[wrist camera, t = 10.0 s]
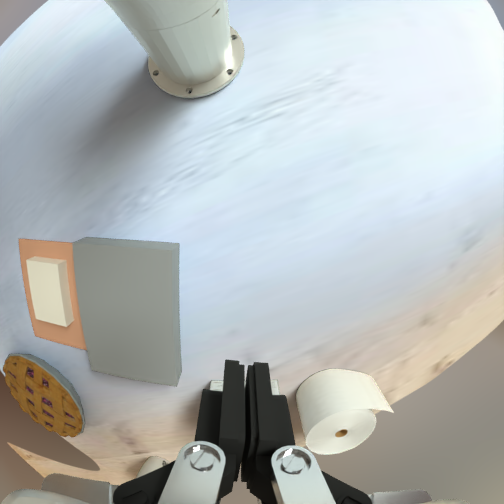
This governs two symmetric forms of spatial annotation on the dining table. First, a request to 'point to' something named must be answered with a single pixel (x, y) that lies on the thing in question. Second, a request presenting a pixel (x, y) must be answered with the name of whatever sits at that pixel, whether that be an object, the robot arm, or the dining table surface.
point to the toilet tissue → (338, 409)
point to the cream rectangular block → (50, 290)
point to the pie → (44, 394)
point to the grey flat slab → (130, 307)
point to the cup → (152, 465)
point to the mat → (64, 251)
